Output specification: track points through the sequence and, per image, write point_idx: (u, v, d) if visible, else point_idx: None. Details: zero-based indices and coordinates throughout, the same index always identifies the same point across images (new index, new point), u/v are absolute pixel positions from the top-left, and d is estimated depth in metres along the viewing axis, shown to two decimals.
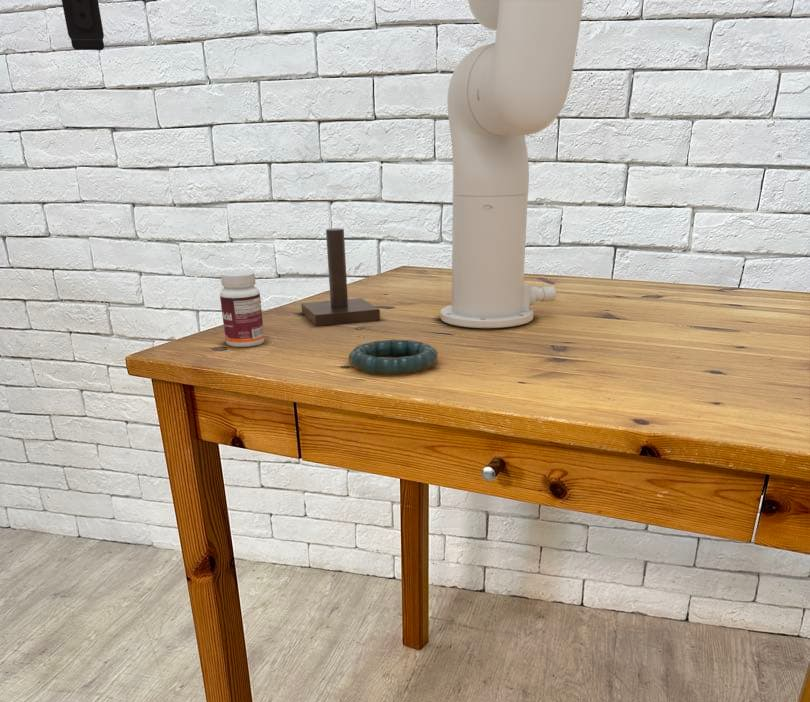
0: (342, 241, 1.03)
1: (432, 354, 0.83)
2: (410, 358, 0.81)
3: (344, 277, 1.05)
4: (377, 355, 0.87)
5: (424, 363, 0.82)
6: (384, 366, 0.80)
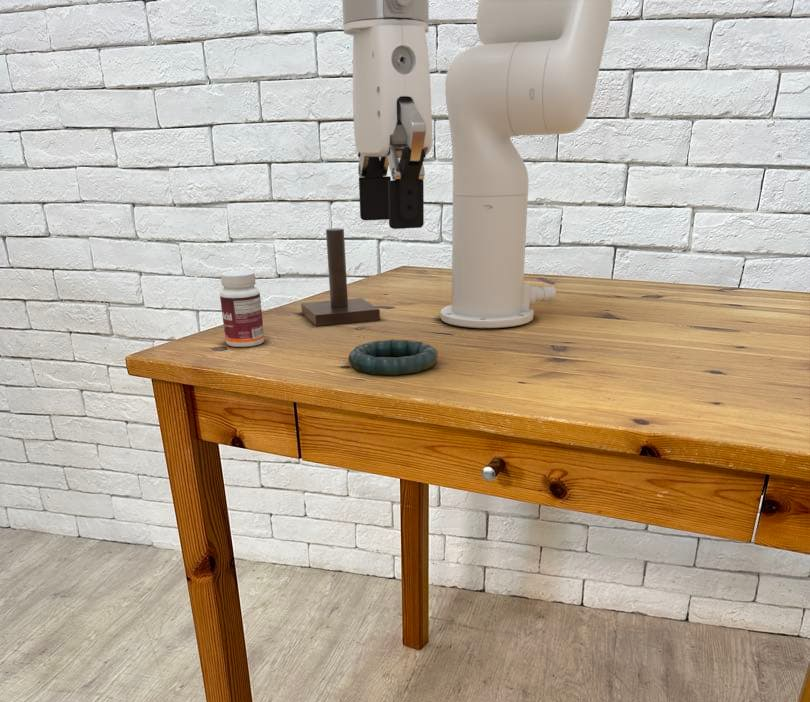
0: (342, 241, 1.03)
1: (432, 354, 0.83)
2: (410, 358, 0.81)
3: (344, 277, 1.05)
4: (377, 355, 0.87)
5: (424, 363, 0.82)
6: (384, 366, 0.80)
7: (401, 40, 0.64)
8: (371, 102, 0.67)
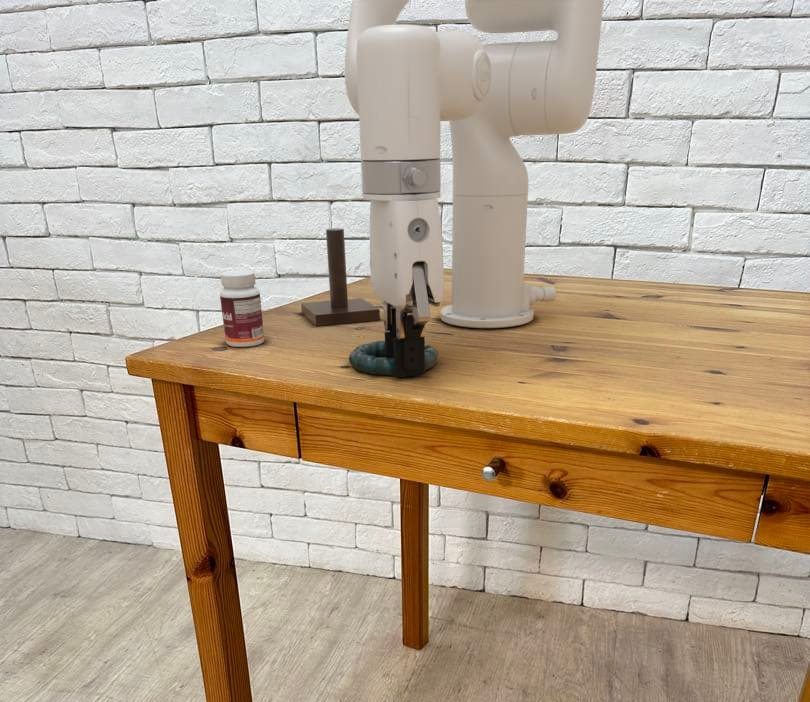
0: (342, 241, 1.03)
1: (433, 354, 0.83)
2: None
3: (344, 277, 1.05)
4: (378, 355, 0.87)
5: (425, 363, 0.81)
6: (385, 366, 0.80)
7: (416, 214, 0.70)
8: (388, 263, 0.73)
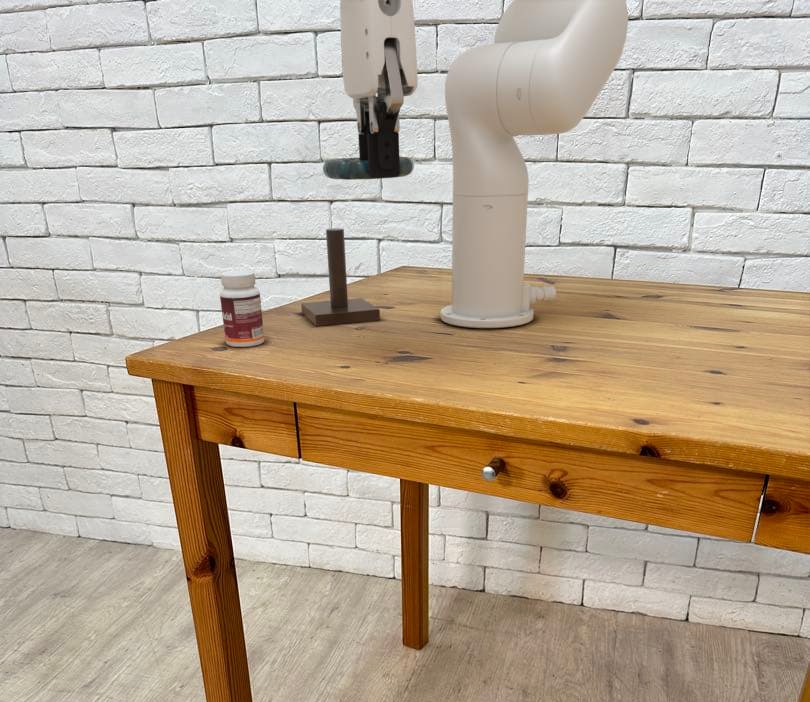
0: (342, 241, 1.03)
1: (408, 160, 0.81)
2: None
3: (344, 277, 1.05)
4: None
5: None
6: (359, 168, 0.79)
7: None
8: (360, 44, 0.72)
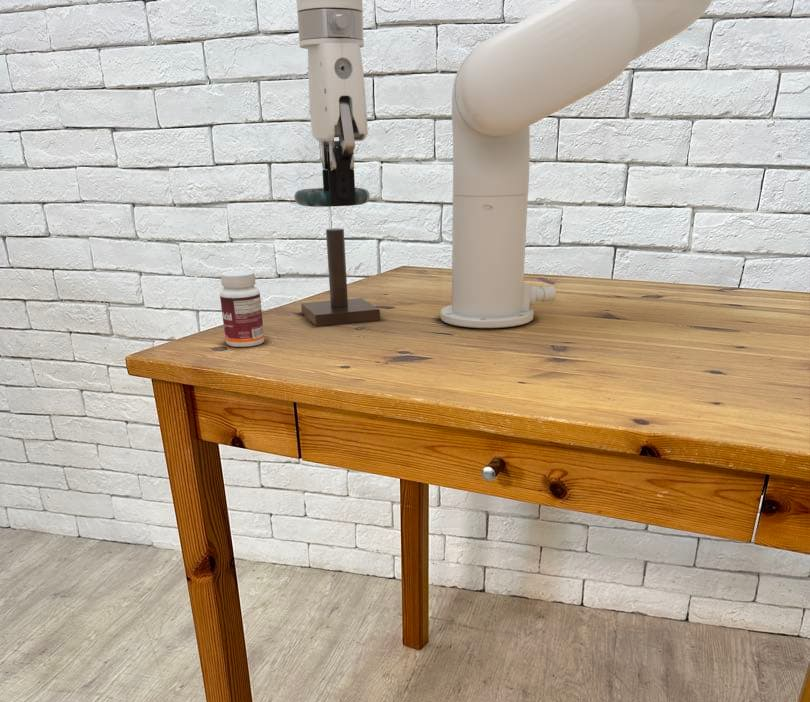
0: (342, 241, 1.03)
1: (363, 191, 0.99)
2: None
3: (344, 277, 1.05)
4: None
5: (355, 197, 0.97)
6: (321, 197, 0.96)
7: (341, 54, 0.86)
8: (320, 100, 0.89)
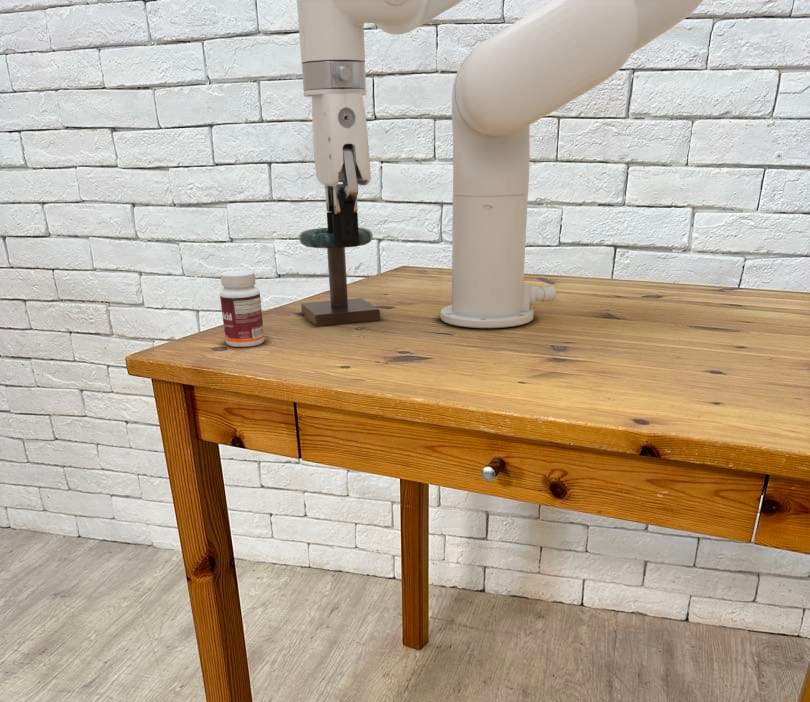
0: None
1: (366, 232, 1.01)
2: None
3: (344, 277, 1.05)
4: None
5: (359, 238, 1.00)
6: (325, 239, 0.99)
7: (344, 104, 0.89)
8: (324, 147, 0.92)
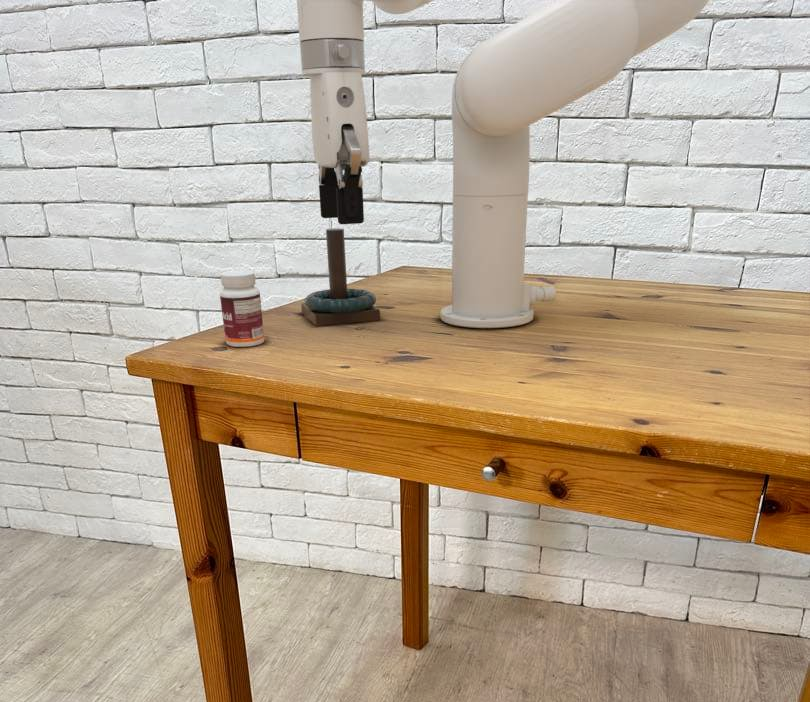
0: (342, 241, 1.03)
1: (370, 297, 1.04)
2: (351, 299, 1.02)
3: (344, 277, 1.05)
4: None
5: (363, 304, 1.03)
6: (331, 305, 1.02)
7: (343, 83, 0.88)
8: (323, 127, 0.91)
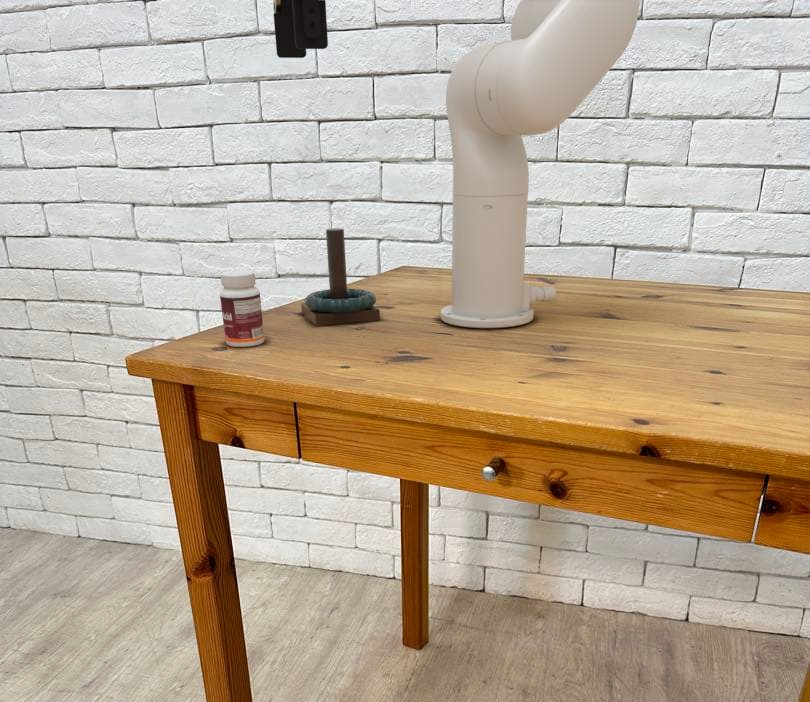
0: (342, 241, 1.03)
1: (370, 297, 1.04)
2: (351, 299, 1.02)
3: (344, 277, 1.05)
4: None
5: (363, 304, 1.03)
6: (331, 305, 1.02)
7: None
8: None
